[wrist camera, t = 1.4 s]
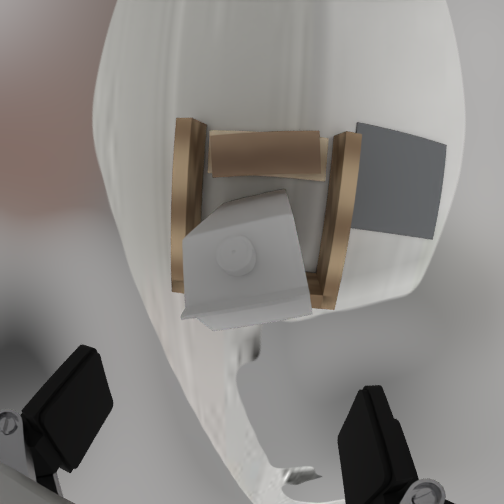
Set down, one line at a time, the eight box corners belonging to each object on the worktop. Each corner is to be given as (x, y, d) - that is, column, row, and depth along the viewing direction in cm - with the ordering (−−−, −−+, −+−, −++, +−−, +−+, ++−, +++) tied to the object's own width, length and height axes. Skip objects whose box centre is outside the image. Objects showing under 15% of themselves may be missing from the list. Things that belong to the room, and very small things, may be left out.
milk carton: (298, 248, 33) (319, 349, 15) (238, 261, 35) (200, 366, 17) (285, 188, 31) (296, 228, 13) (223, 202, 33) (158, 258, 15)
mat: (356, 122, 28) (357, 122, 28) (444, 145, 28) (446, 145, 27) (344, 226, 32) (345, 227, 32) (431, 238, 32) (432, 239, 31)
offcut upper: (216, 137, 28) (210, 135, 25) (315, 133, 27) (319, 130, 24) (218, 176, 29) (212, 177, 26) (316, 172, 28) (320, 173, 26)
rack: (193, 124, 30) (176, 117, 24) (346, 138, 29) (362, 134, 23) (187, 270, 35) (171, 291, 30) (325, 285, 35) (334, 309, 29)
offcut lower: (215, 132, 31) (209, 130, 28) (323, 140, 30) (328, 138, 27) (213, 171, 32) (207, 173, 29) (320, 179, 31) (325, 181, 28)
